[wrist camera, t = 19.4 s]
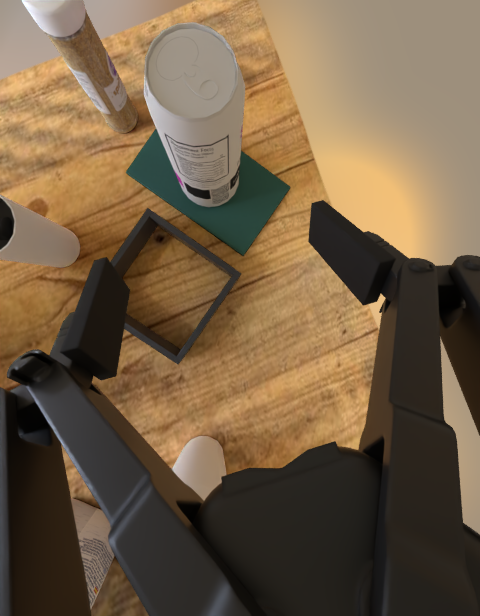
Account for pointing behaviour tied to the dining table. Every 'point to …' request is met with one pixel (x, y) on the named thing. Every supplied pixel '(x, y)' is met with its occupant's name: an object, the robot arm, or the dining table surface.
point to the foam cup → (201, 465)
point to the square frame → (131, 251)
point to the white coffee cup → (34, 237)
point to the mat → (220, 219)
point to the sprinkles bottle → (85, 58)
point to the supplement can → (197, 109)
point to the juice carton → (93, 545)
